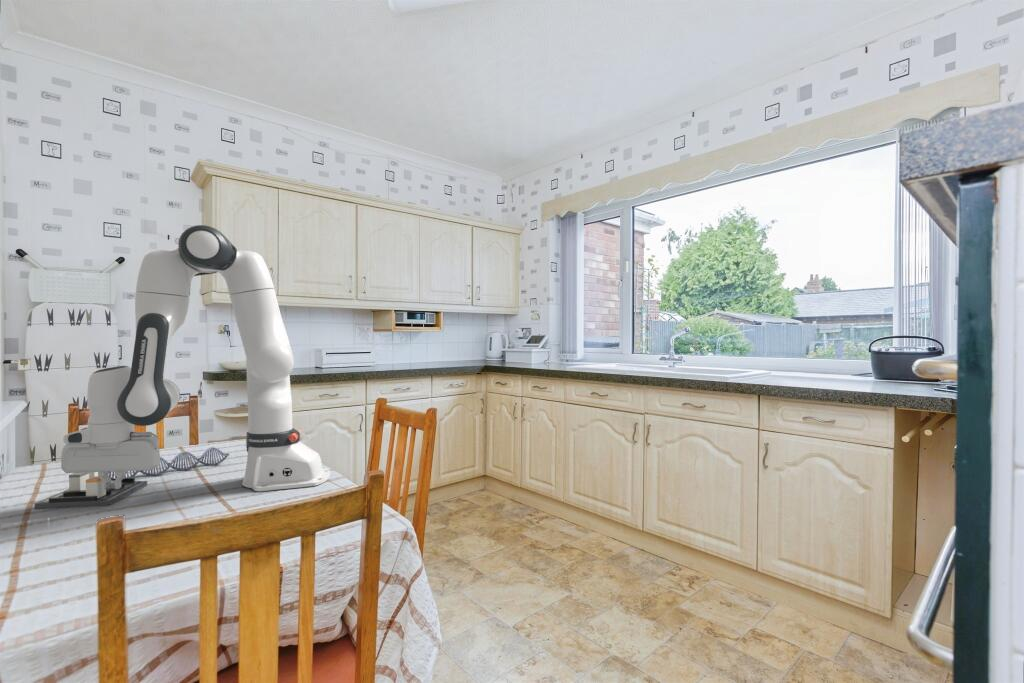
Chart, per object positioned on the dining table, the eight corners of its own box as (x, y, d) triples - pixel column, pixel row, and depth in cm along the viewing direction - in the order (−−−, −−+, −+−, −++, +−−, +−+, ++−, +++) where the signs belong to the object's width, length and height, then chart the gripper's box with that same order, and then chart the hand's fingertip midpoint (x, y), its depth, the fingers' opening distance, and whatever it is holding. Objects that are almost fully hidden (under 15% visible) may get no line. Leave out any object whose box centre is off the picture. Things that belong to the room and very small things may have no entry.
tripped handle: (106, 494, 120) (105, 476, 120) (97, 498, 117) (97, 479, 117) (94, 494, 120) (94, 476, 120) (86, 499, 117) (85, 480, 117)
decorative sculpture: (230, 464, 152) (229, 445, 152) (101, 488, 130) (100, 466, 130) (224, 461, 156) (224, 443, 156) (99, 483, 134) (98, 462, 134)
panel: (147, 485, 132) (147, 477, 132) (109, 505, 117) (109, 496, 117) (81, 487, 130) (81, 479, 130) (34, 508, 115) (34, 499, 115)
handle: (102, 483, 129) (102, 465, 129) (94, 486, 126) (94, 469, 126) (92, 483, 129) (91, 466, 129) (84, 487, 126) (83, 469, 126)
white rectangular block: (89, 489, 124) (88, 471, 124) (80, 493, 121) (80, 474, 121) (78, 489, 124) (77, 471, 124) (69, 493, 121) (68, 475, 121)
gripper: (165, 429, 123) (166, 483, 124) (75, 431, 121) (76, 486, 121) (150, 434, 117) (151, 491, 117) (55, 436, 114) (56, 495, 115)
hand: (112, 488), depth 119 cm, fingers closed
